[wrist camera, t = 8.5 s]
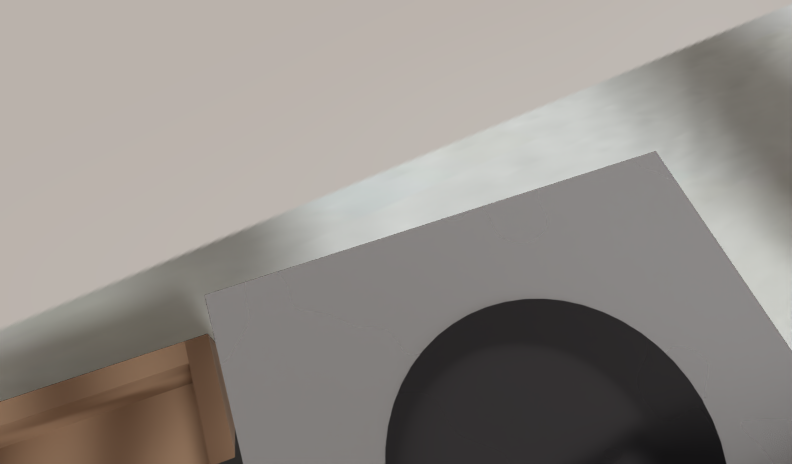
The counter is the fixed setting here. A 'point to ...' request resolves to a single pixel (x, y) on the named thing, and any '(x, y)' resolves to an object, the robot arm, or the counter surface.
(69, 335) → the counter surface
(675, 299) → the block
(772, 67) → the counter surface
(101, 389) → the tray
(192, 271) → the counter surface
